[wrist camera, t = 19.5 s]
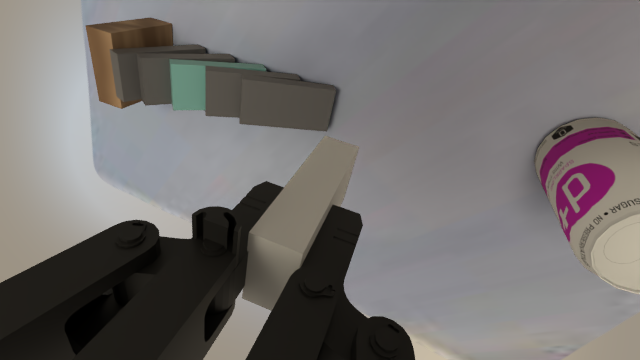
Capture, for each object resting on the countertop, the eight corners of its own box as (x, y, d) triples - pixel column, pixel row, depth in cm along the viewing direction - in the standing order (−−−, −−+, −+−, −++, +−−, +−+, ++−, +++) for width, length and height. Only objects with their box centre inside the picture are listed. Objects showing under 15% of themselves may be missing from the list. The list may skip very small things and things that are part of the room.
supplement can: (516, 172, 36) (552, 269, 24) (567, 102, 32) (645, 178, 19) (592, 201, 35) (669, 318, 23) (656, 134, 31) (797, 236, 18)
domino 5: (336, 90, 37) (242, 79, 34) (326, 131, 39) (239, 123, 37) (332, 85, 38) (242, 73, 35) (324, 125, 41) (239, 117, 38)
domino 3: (266, 69, 38) (170, 64, 34) (262, 109, 41) (173, 110, 36) (262, 64, 39) (169, 58, 35) (258, 104, 42) (171, 104, 38)
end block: (171, 23, 40) (110, 33, 33) (175, 87, 45) (121, 108, 37) (150, 17, 41) (85, 25, 33) (155, 81, 45) (99, 101, 38)
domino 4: (300, 79, 37) (205, 70, 34) (293, 120, 40) (205, 115, 37) (297, 74, 39) (205, 65, 35) (290, 114, 41) (205, 109, 38)
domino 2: (234, 58, 39) (140, 58, 33) (232, 99, 42) (145, 105, 36) (229, 54, 40) (136, 53, 34) (227, 94, 43) (141, 99, 37)
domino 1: (205, 48, 40) (117, 54, 33) (205, 88, 43) (123, 102, 36) (197, 44, 41) (109, 49, 34) (197, 84, 43) (116, 96, 36)
